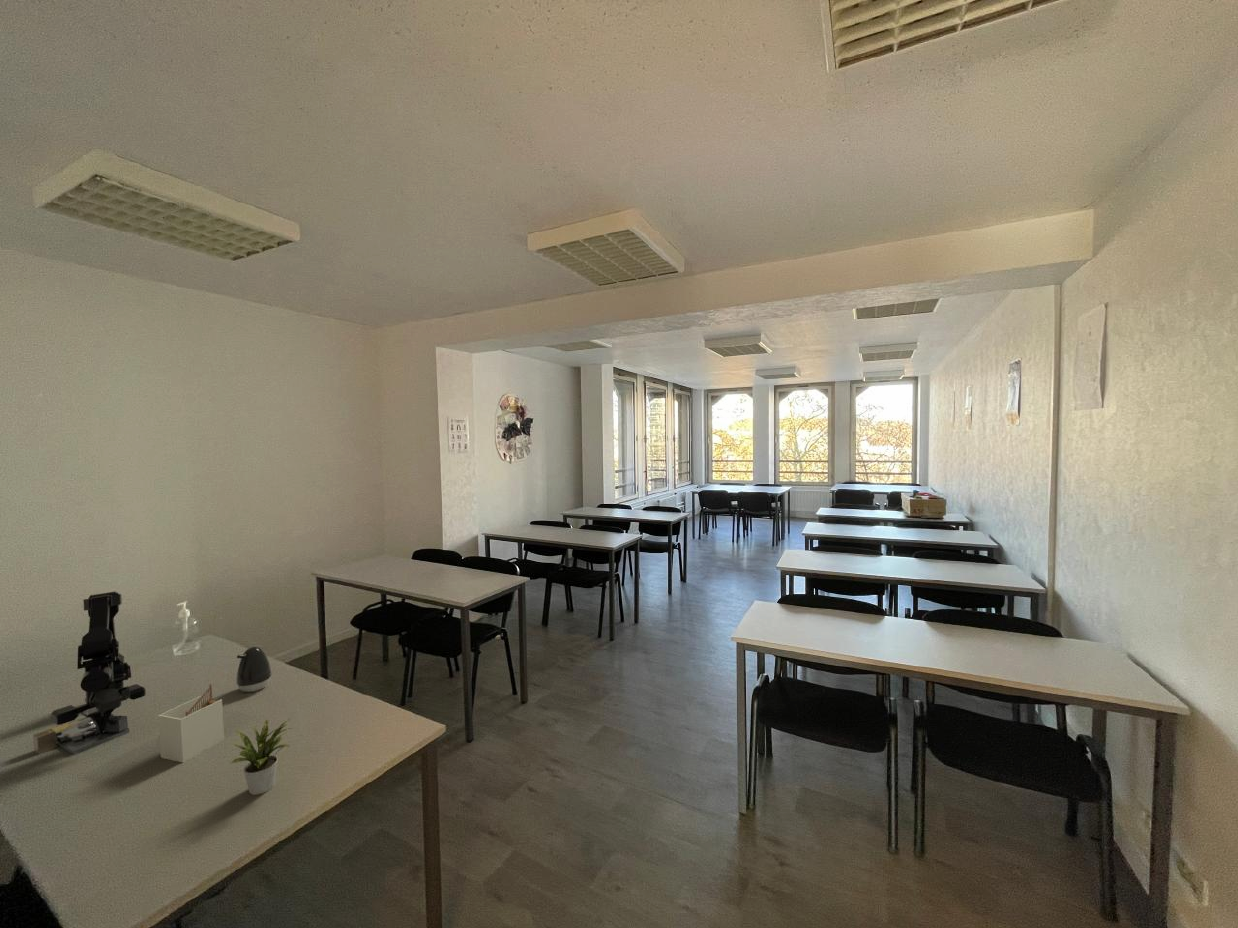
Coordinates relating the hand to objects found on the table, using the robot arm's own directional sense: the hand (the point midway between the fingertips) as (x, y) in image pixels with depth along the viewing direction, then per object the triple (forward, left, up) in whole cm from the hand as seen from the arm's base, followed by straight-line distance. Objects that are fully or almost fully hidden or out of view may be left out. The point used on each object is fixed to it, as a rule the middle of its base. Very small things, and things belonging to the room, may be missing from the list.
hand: (101, 731), depth 146 cm
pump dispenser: (+8, +37, -3) cm, 38 cm away
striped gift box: (-9, -9, -3) cm, 13 cm away
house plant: (+68, +9, -3) cm, 69 cm away
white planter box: (+30, +10, -3) cm, 32 cm away
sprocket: (-6, +1, -1) cm, 6 cm away
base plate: (-9, -1, -3) cm, 9 cm away
